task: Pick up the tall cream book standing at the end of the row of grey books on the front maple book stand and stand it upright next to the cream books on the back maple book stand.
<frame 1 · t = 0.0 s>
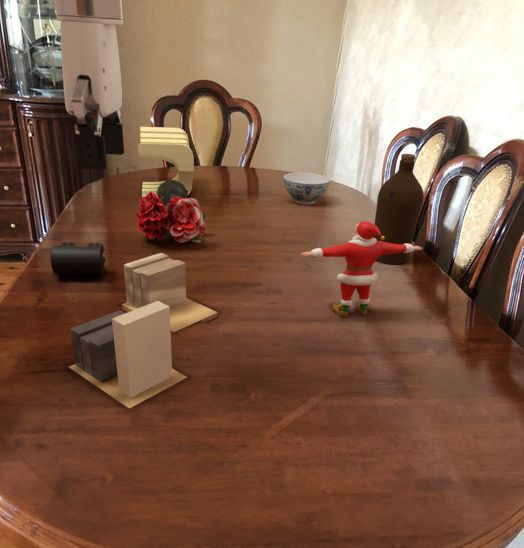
hand: (103, 161, 70), 31 cm above the table, tool pointing down, fingers open, 9 cm apart
grey book stand: (128, 377, 82), on the table
santa figurine: (352, 314, 105), on the table
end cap: (81, 276, 113), on the table
cream book: (146, 383, 79), point 1 cm above the table, touching grey book stand
carnation: (170, 229, 143), on the table
chinaware: (304, 202, 174), on the table
slatted curved stool: (167, 193, 174), on the table
cream book stand: (169, 312, 101), on the table
olive oil: (389, 258, 133), on the table
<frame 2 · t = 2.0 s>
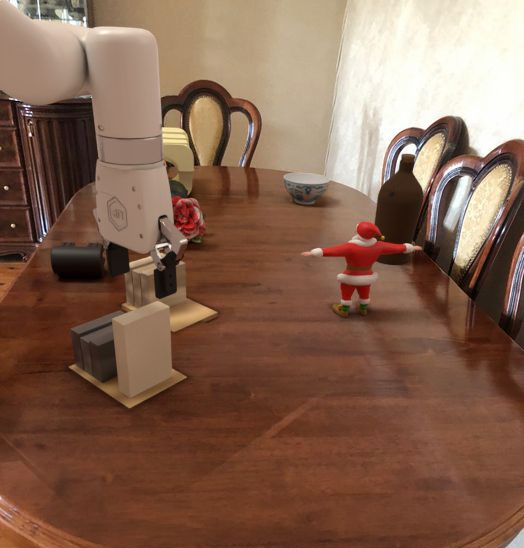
hand: (142, 284, 70), 17 cm above the table, tool pointing down, fingers open, 9 cm apart
nothing on the table moved.
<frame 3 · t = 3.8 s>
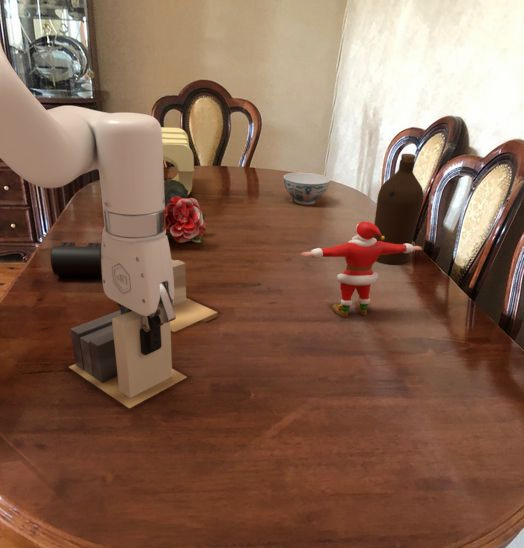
hand: (143, 345, 75), 8 cm above the table, tool pointing down, fingers closed on cream book, 2 cm apart
cream book: (146, 383, 79), point 1 cm above the table, touching grey book stand, gripper
everything else where it was.
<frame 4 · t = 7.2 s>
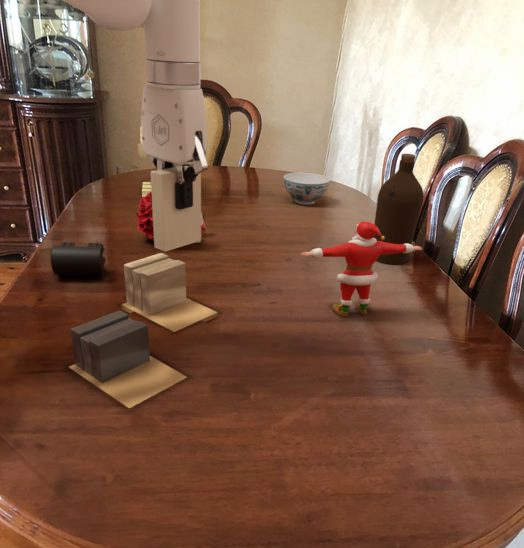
hand: (177, 204, 83), 23 cm above the table, tool pointing down, fingers closed on cream book, 2 cm apart
cream book: (178, 244, 87), point 16 cm above the table, touching gripper
everything else where it was.
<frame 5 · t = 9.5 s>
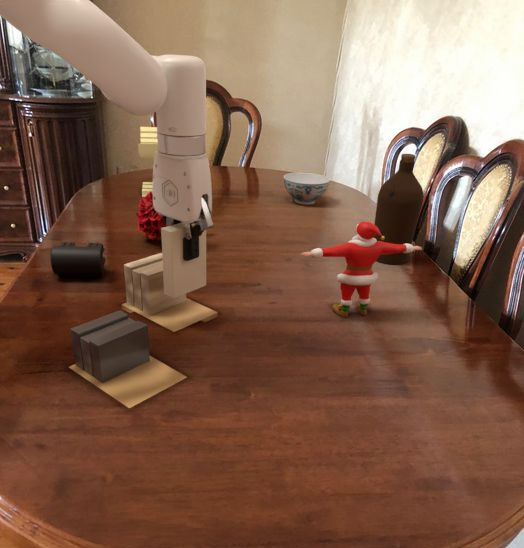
hand: (184, 255, 92), 13 cm above the table, tool pointing down, fingers closed on cream book, 2 cm apart
cream book: (185, 289, 95), point 6 cm above the table, touching gripper
everything else where it was.
when the fingers open (8 cm above the table, at t = 11.0 s): cream book stays where it is, resting on cream book stand.
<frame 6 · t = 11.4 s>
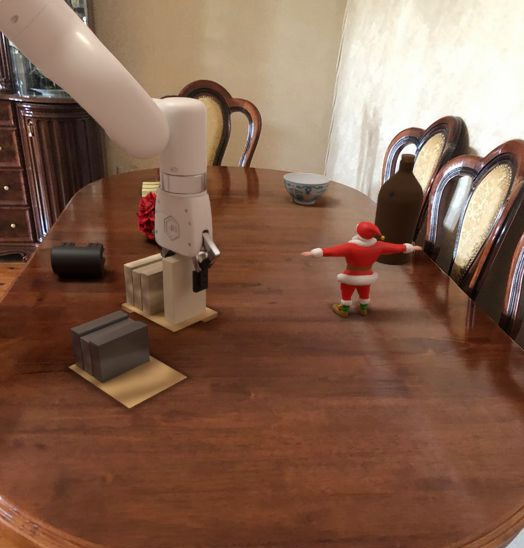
hand: (185, 282, 94), 8 cm above the table, tool pointing down, fingers open, 6 cm apart
cream book: (185, 316, 98), point 1 cm above the table, touching cream book stand
everything else where it was.
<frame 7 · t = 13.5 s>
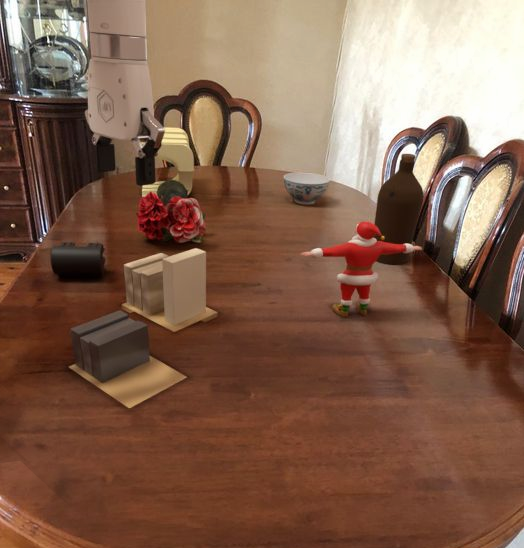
hand: (125, 177, 81), 27 cm above the table, tool pointing down, fingers open, 9 cm apart
nothing on the table moved.
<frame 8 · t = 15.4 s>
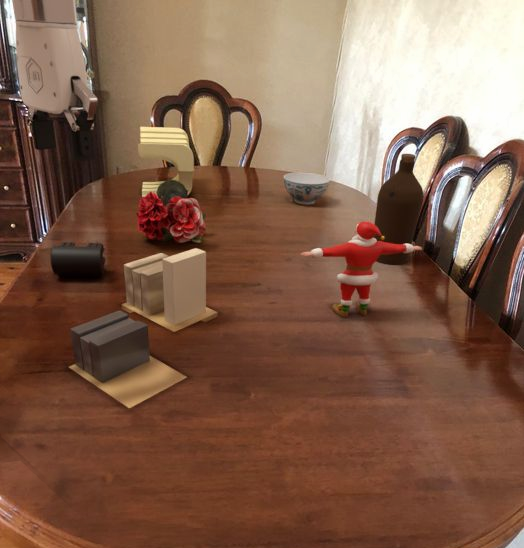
hand: (64, 154, 76), 30 cm above the table, tool pointing down, fingers open, 9 cm apart
nothing on the table moved.
at the end: cream book 0.1 cm from the target spot on the cream book stand, point 1.0 cm above the cream book stand's base; cream book tilted 0°; the gripper is holding nothing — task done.
